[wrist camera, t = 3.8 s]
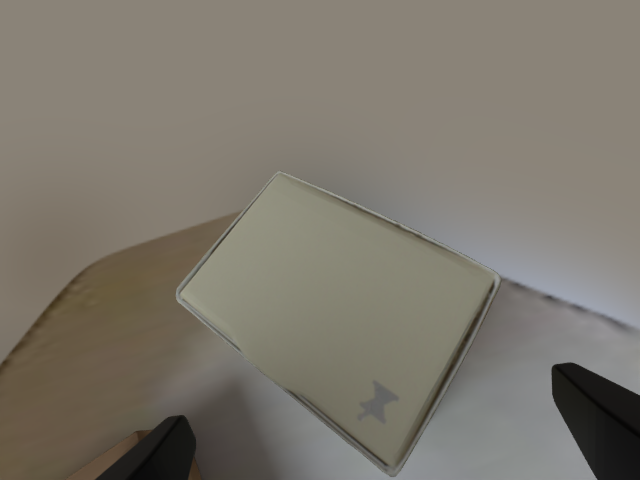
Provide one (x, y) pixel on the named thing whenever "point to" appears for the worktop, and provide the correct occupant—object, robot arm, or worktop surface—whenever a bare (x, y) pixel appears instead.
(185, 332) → the worktop surface
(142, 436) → the u rest
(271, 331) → the skincare box
